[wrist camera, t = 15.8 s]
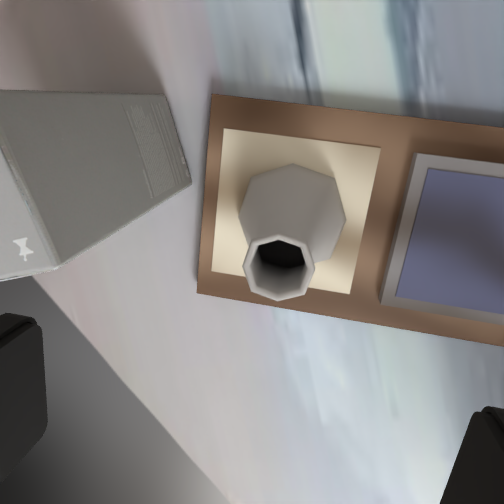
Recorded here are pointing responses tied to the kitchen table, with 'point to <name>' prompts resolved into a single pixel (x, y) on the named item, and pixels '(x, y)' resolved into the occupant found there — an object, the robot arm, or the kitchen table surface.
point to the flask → (289, 229)
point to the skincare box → (79, 172)
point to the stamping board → (370, 213)
